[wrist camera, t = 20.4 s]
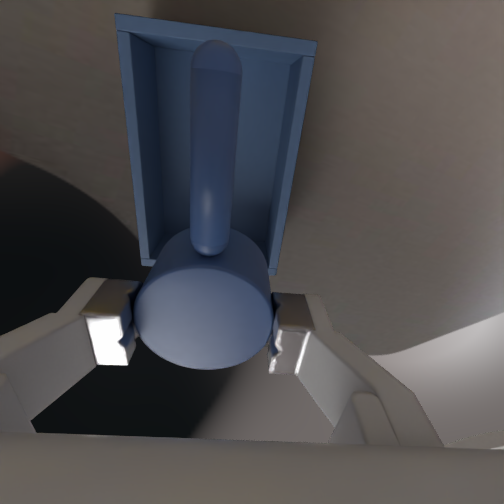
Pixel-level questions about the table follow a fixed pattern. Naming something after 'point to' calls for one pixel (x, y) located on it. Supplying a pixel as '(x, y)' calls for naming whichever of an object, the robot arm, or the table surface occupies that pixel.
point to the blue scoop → (209, 241)
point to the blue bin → (178, 127)
